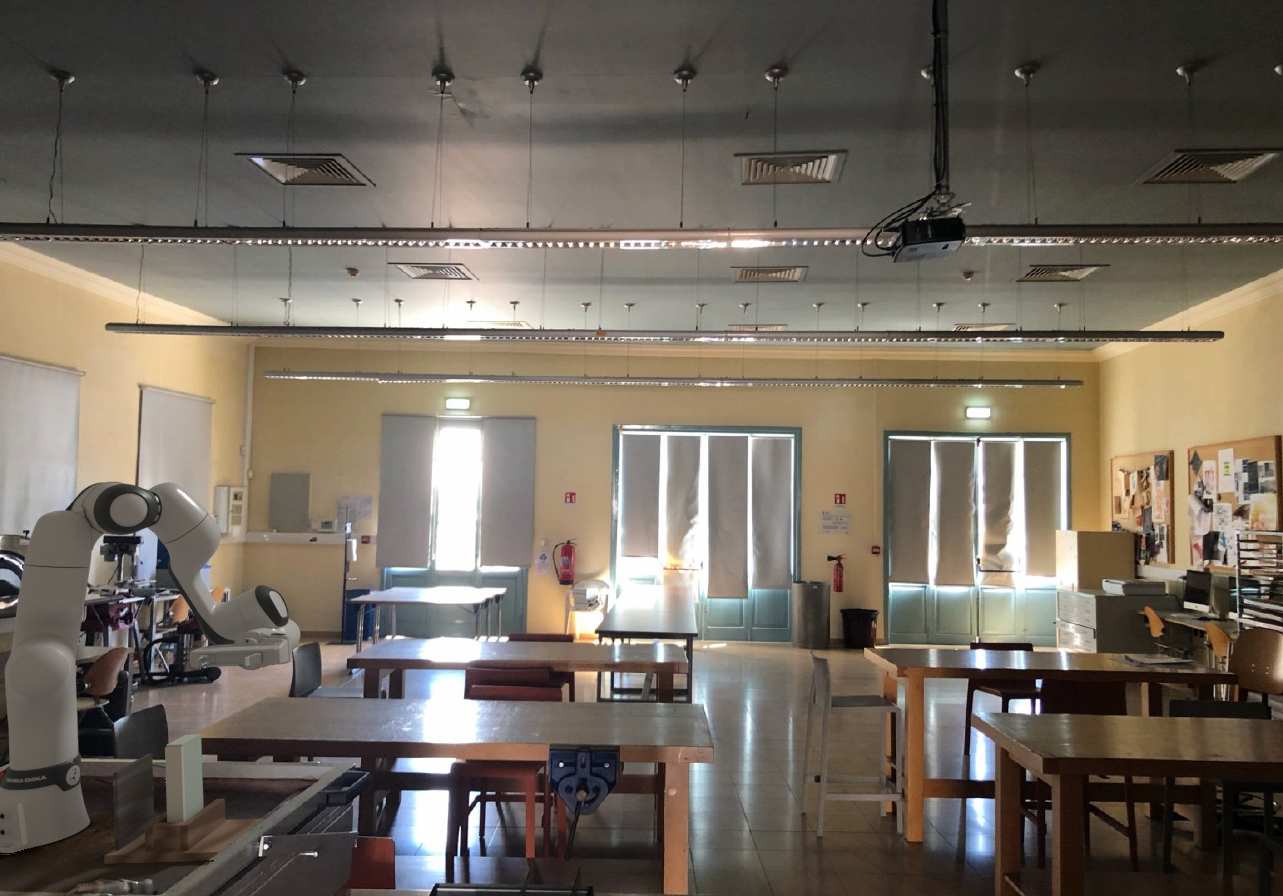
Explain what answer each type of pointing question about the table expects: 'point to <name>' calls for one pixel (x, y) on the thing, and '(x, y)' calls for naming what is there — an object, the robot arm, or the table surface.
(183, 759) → the pale green flat block
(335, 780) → the table surface
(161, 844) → the stand
